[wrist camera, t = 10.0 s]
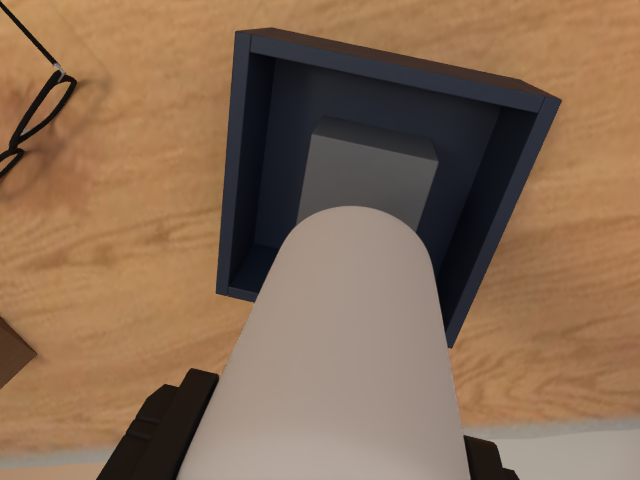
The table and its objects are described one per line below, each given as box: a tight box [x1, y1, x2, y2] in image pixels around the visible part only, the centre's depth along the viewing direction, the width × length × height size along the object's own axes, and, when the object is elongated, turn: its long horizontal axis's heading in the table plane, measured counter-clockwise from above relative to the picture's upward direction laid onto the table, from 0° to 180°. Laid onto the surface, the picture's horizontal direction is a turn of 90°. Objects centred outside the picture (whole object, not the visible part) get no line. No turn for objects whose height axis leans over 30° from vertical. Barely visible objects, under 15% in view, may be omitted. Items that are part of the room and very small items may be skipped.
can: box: [176, 206, 471, 480], centre depth 13 cm, size 6×6×12 cm
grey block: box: [296, 115, 439, 233], centre depth 27 cm, size 7×7×5 cm
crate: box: [216, 28, 562, 349], centre depth 27 cm, size 16×16×7 cm
